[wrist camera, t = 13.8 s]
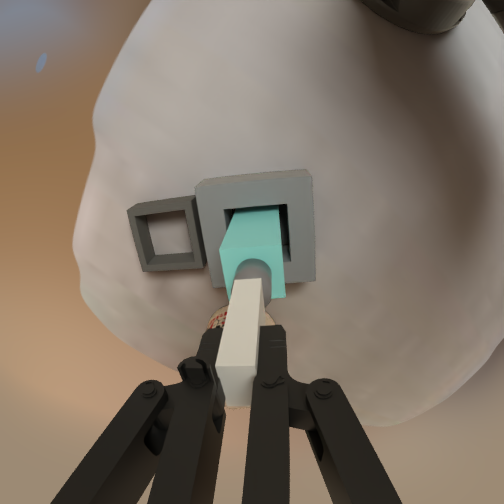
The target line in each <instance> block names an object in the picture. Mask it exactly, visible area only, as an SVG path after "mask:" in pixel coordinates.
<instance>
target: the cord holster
mask: <svg viewBox="0 0 504 504" xmlns="http://www.w3.org/2000/svg"><path fill="white" fill-rule="evenodd" d="M177 210H185V214H186V219H187V225H188V230H189V235H190V240H191V245H192V250H193V252H191V253H178V254H166V255H155V253H154V249H153V245H152V241H151V237H150V233H149V228H148V224H147V220H146V215H147V214H154V213H162V212H169V211H177ZM127 214H128V218H129V222H130V226H131V230H132V234H133V238H134V242H135V246H136V249H137V253H138V257H139V260H140V264H141V267H142V271H143V272H148V271H165V270H181V269H196V268H204V266H205V264H206V261H207V256H206V251H205V245H204V240H203V235H202V229H201V223H200V218H199V212H198V206H197V200H196V195H192V196H185V197H178V198H170V199H164V200H157V201H150V202H144V203H138V204H136V205H134V206H132V207H131V208H129V209H128V210H127Z"/></svg>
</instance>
